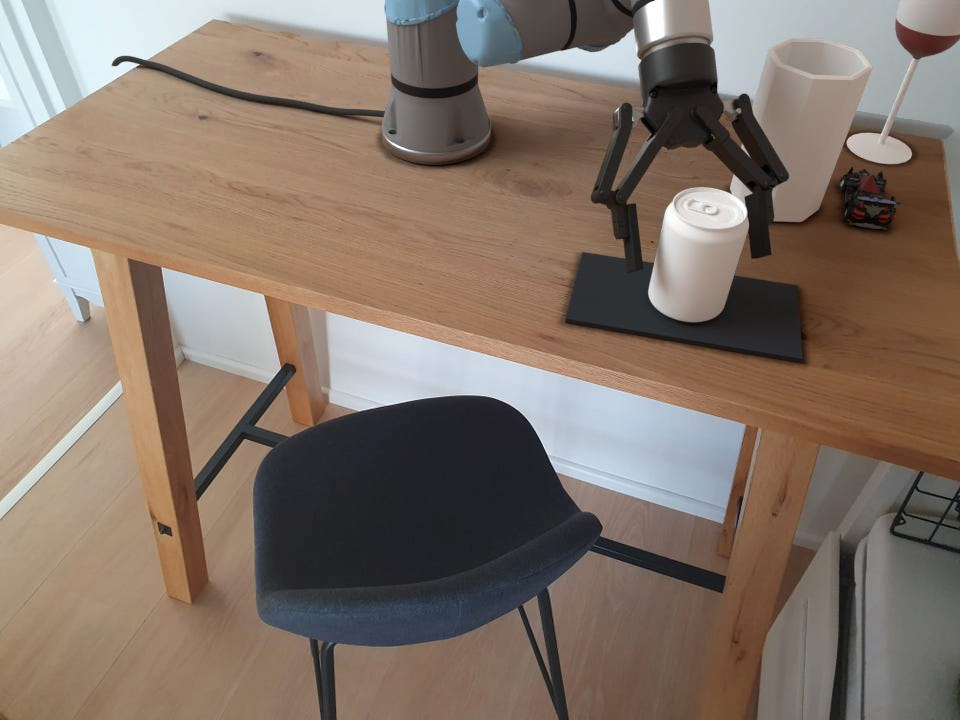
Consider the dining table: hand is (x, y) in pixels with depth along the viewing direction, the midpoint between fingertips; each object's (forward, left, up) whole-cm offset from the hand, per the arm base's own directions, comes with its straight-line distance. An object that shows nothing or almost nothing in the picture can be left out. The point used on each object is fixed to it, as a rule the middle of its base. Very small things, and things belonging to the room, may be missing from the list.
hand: (699, 264), depth 78 cm
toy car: (+21, +27, -7) cm, 35 cm away
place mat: (0, +1, -7) cm, 7 cm away
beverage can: (0, +1, -6) cm, 6 cm away
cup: (+10, +25, -7) cm, 28 cm away
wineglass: (+24, +42, -7) cm, 49 cm away
